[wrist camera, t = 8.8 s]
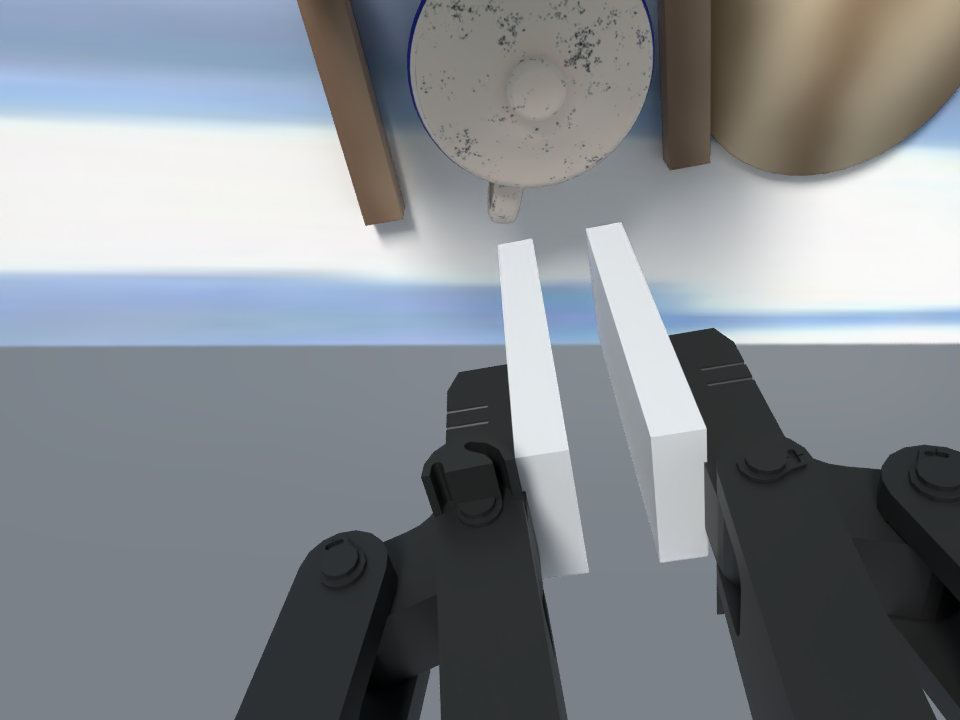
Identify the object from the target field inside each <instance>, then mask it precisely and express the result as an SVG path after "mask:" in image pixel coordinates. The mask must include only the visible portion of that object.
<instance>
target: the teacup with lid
mask: <svg viewBox="0 0 960 720" xmlns="http://www.w3.org/2000/svg"><path fill="white" fill-rule="evenodd" d="M653 66H654V35H653V28H652V23H651V18H650V15H649V11H648V8H647V5H646V3H645V0H422V1H421V3H420V5H419V7H418V10H417V12H416V15H415V18H414V21H413V24H412V28H411V32H410V37H409V43H408V53H407V71H408V82H409V87H410V93H411V96H412V100H413V103H414V106H415V109H416V111H417V114H418V116H419V118H420V120H421V122H422V124H423V126H424V128H425V130H426V131H427V133H428V135H429V136H430V137H431V139H432V140H433V141H434V143H435V144H436V145H437V146H438V148H439V149H440V150H441V151H442V152H443V153H444V154H445V155H446V156H447V157H448V158H450V159H451V160H452V161H453V162H454V163H456V164H457V165H458V166H460V167H461V168H463V169H464V170H466V171H468V172H469V173H471V174H473V175H475V176H477V177H479V178H482V179H484V180H487V181H489V186H488V213H489V217H490V219H491V220H492V221H493V222H496V223H503V224H509V223H512V222H513V221H514V220H515V219H516V217H517V214H518V212H519V208H520V204H521V198H522V193H523V188H528V187H541V186H548V185H552V184H557V183H560V182H563V181H566V180H569V179H571V178H574V177H576V176H578V175H580V174H582V173H584V172H586V171H587V170H589V169H591V168H592V167H594V166H595V165H597V164H598V163H599V162H601V161H602V160H603V159H604V158H606V157H607V156H608V155H609V154H610V153H611V152H612V151H613V150H614V149H615V148H616V147H617V146H618V145H619V144H620V142H621V141H622V140H623V139H624V137H625V136H626V135H627V133H628V132H629V131H630V129H631V128H632V126H633V124H634V123H635V121H636V119H637V117H638V115H639V113H640V111H641V109H642V107H643V105H644V102H645V100H646V97H647V94H648V91H649V87H650V84H651V79H652V74H653Z"/></svg>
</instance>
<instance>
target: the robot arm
mask: <svg viewBox="0 0 960 720" xmlns="http://www.w3.org/2000/svg"><path fill="white" fill-rule="evenodd" d="M586 237H587V245H588V254H589V262H590V271H591V279H592V288H593V296H594V305H595V313H596V322H597V330H598V336H599V340H600V343H601V347H602V350H603V354H604V358H605V362H606V365H607V369H608V373H609V376H610V380H611V384H612V388H613V391H614V395H615V399H616V402H617V406H618V410H619V413H620V417H621V421H622V424H623V428H624V431H625V435H626V439H627V443H628V447H629V450H630V454H631V458H632V461H633V465H634V468H635V472H636V476H637V480H638V483H639V487H640V490H641V494H642V498H643V502H644V505H645V509H646V512H647V516H648V520H649V524H650V528H651V531H652V534H653V538H654V542H655V546H656V549H657V553H658V557H659V561H660V563H662V562H669V561H676V560H683V559H691V558H697V557H705V556H708V538H709V541H710V544H711V547H712V550H713V553H714V556H715V558H716V561H717V614H724V613H725V616H726V620H727V624H728V628H729V632H730V635H731V639H732V643H733V647H734V650H735V654H736V658H737V662H738V665H739V669H740V673H741V677H742V680H743V684H744V688H745V692H746V695H747V699H748V703H749V707H750V711H751V715H752V718H753V720H937V719H936V717H935V715H934V713H933V710H932V708H931V706H930V704H929V702H928V700H927V698H926V696H925V694H924V691H925V692H926V694H927V695H928V696H929V698H930V699H931V700H932V701H933V703H934V704H935V705H936V707H937V708H938V709H939V711H940V712H941V713H942V715H943V716H944V717H945V719H946V720H960V452H959V451H956V450H953V449H949V448H947V447H938V446H929V445H921V446H912V447H906V448H903V449H901V450H899V451H897V452H895V453H893V454H891V455H889V457H888V458H887V460H886V461H885V463H884V464H883V465H882V469H881V470H880V469H869V468H858V467H846V466H839V465H833V464H828V463H825V462H822V461H819V460H816V459H813V458H812V456H811V455H810V454H809V453H808V451H807V450H806V449H805V448H804V447H802V446H801V445H799V444H797V443H796V442H794V441H792V440H791V439H788V438H786V437H785V436H784V434H783V433H782V431H781V429H780V427H779V425H778V423H777V421H776V419H775V418H774V416H773V414H772V412H771V410H770V409H769V407H768V405H767V403H766V401H765V399H764V397H763V395H762V394H761V392H760V390H759V388H758V386H757V384H756V382H755V381H754V380H753V379H752V375H751V373H750V371H749V369H748V367H747V366H746V365H745V364H744V360H743V358H742V356H741V354H740V353H739V351H738V349H737V347H736V345H735V343H734V342H733V341H731V340H730V339H729V338H727V337H726V336H724V335H723V334H721V333H720V332H719V331H717V330H716V329H714V328H710V329H704V330H698V331H692V332H686V333H680V334H674V335H668V334H667V331H666V329H665V327H664V324H663V322H662V319H661V317H660V315H659V312H658V310H657V307H656V305H655V302H654V300H653V298H652V295H651V293H650V290H649V288H648V285H647V283H646V281H645V278H644V276H643V273H642V271H641V268H640V266H639V264H638V261H637V259H636V256H635V254H634V251H633V249H632V247H631V244H630V242H629V239H628V237H627V235H626V232H625V230H624V227H623V225H622V222H619V223H614V224H608V225H603V226H597V227H592V228H586ZM498 257H499V270H500V282H501V294H502V306H503V318H504V331H505V343H506V354H507V364H506V365H500V366H494V367H488V368H482V369H477V370H470V371H464V372H459V373H458V375H457V376H456V378H455V380H454V381H453V383H452V385H451V387H450V388H449V390H448V392H447V424H446V427H447V431H446V444H445V445H443V446H442V447H440V448H439V449H438V450H436V451H434V452H433V454H432V455H431V456H430V458H429V459H428V460H427V461H426V463H425V464H424V467H423V472H422V476H421V479H422V481H423V484H424V487H425V490H426V493H427V496H428V499H429V502H430V505H431V508H432V511H433V514H432V515H431V516H430V517H429V518H428V519H427V520H426V521H424V522H423V523H422V524H421V525H419V526H417V527H416V528H414V529H412V530H410V531H408V532H406V533H404V534H401V535H399V536H397V537H394V538H392V539H390V540H387V541H385V542H382V541H381V540H380V539H379V538H377V537H376V536H374V535H373V534H371V533H368V532H362V531H356V530H355V531H349V532H343V533H339V534H336V535H334V536H332V537H330V538H328V539H326V540H323V541H322V542H321V543H320V544H319V545H317V546H316V547H315V548H314V549H313V550H311V551H310V552H309V554H308V555H307V557H306V558H305V560H304V561H303V563H302V564H301V566H300V568H299V570H298V572H297V575H296V577H295V579H294V582H293V584H292V586H291V589H290V591H289V593H288V596H287V598H286V601H285V603H284V605H283V608H282V610H281V612H280V615H279V617H278V619H277V622H276V624H275V627H274V629H273V631H272V633H271V636H270V638H269V640H268V643H267V645H266V648H265V650H264V652H263V654H262V657H261V659H260V662H259V664H258V666H257V668H256V671H255V673H254V675H253V678H252V680H251V683H250V685H249V687H248V690H247V692H246V694H245V697H244V699H243V701H242V704H241V706H240V709H239V711H238V713H237V715H236V718H235V720H419V718H420V714H421V710H422V705H423V701H424V696H425V692H426V688H427V684H428V679H429V674H430V669H431V668H433V667H435V666H438V665H439V670H440V698H441V699H440V700H441V720H568V719H567V714H566V708H565V702H564V697H563V692H562V686H561V680H560V674H559V669H558V663H557V658H556V652H555V646H554V641H553V635H552V630H551V624H550V619H549V613H548V608H547V603H546V599H545V594H544V590H543V582H542V579H544V578H551V577H558V576H566V575H573V574H581V573H588V572H589V569H588V563H587V557H586V551H585V546H584V539H583V533H582V527H581V521H580V515H579V509H578V503H577V497H576V491H575V485H574V479H573V473H572V467H571V460H570V454H569V448H568V443H567V437H566V431H565V425H564V419H563V414H562V408H561V403H560V396H559V390H558V385H557V378H556V373H555V367H554V361H553V355H552V350H551V344H550V338H549V332H548V326H547V320H546V314H545V309H544V303H543V297H542V291H541V285H540V279H539V274H538V268H537V262H536V256H535V250H534V244H533V239H526V240H521V241H516V242H510V243H505V244H499V245H498ZM922 688H923V689H922ZM923 690H924V691H923Z"/></svg>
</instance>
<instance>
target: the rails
mask: <svg viewBox="0 0 960 720" xmlns="http://www.w3.org/2000/svg"><path fill="white" fill-rule="evenodd" d="M297 2H298V5H299V9H300V12H301V15H302V19H303V22H304V25H305V28H306V32H307V35H308V38H309V42H310V45H311V48H312V51H313V55H314V58H315V61H316V65H317V68H318V71H319V74H320V78H321V81H322V84H323V88H324V91H325V94H326V97H327V101H328V104H329V107H330V111H331V114H332V117H333V120H334V124H335V127H336V130H337V134H338V137H339V140H340V143H341V147H342V150H343V153H344V157H345V160H346V163H347V166H348V170H349V173H350V176H351V179H352V183H353V186H354V189H355V193H356V196H357V199H358V202H359V206H360V209H361V212H362V216H363V219H364V222H365V225H366V226H367V225H373V224H378V223H384V222H389V221H395V220H400V219H403V215H404V209H405V206H404V202H403V199H402V195H401V191H400V187H399V184H398V180H397V176H396V172H395V169H394V165H393V161H392V157H391V153H390V150H389V146H388V142H387V138H386V135H385V131H384V127H383V123H382V119H381V116H380V112H379V108H378V104H377V101H376V97H375V93H374V89H373V86H372V82H371V78H370V74H369V70H368V67H367V63H366V59H365V55H364V52H363V48H362V44H361V40H360V37H359V33H358V29H357V25H356V21H355V18H354V14H353V10H352V6H351V3H350V0H297ZM657 4H658V30H659V57H660V84H661V110H662V137H663V160H664V162H665V163H666V165H667V166H668V168H669V169H670V170H675V169H680V168H686V167H691V166H697V165H702V164H708V163H710V95H711V0H657Z"/></svg>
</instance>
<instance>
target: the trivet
mask: <svg viewBox="0 0 960 720" xmlns="http://www.w3.org/2000/svg"><path fill="white" fill-rule="evenodd" d="M959 86H960V0H711V95H710V133H711V135H712V136H713V137H714V138H715V139H716V141H717V142H718V143H719V144H720V145H721V146H723V147H724V148H725V149H726V150H727V151H728V152H729V153H730V154H732V155H734V156H735V157H737V158H738V159H740V160H741V161H743V162H745V163H747V164H749V165H751V166H753V167H756V168H758V169H761V170H765V171H768V172H772V173H777V174H784V175H816V174H825V173H830V172H834V171H838V170H842V169H846V168H849V167H852V166H854V165H857V164H860V163H863V162H865V161H867V160H869V159H871V158H874V157H876V156H878V155H880V154H882V153H884V152H885V151H887V150H889V149H890V148H892V147H894V146H895V145H897V144H899V143H900V142H901V141H903V140H904V139H906V138H907V137H908V136H910V135H911V134H912V133H914V132H915V131H916V130H918V129H919V128H920V127H921V126H922V125H923V124H924V123H926V122H927V121H928V120H929V119H930V118H931V117H932V116H934V114H935V113H936V112H937V111H938V110H939V109H940V108H941V107H942V106H943V105H944V104H945V103H946V102H947V101H948V100H949V98H950V97H951V96H952V95H953V93H954V92H955V91H956V90H957V88H958V87H959Z"/></svg>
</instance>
